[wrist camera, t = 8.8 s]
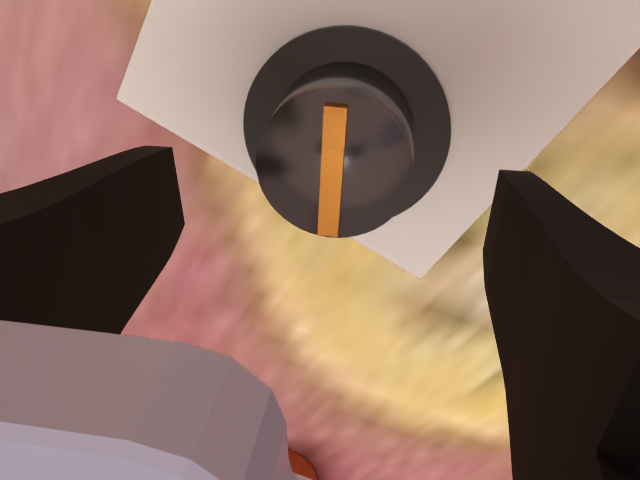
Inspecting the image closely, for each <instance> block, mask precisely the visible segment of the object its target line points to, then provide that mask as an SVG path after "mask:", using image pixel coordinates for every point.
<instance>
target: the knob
mask: <svg viewBox="0 0 640 480" xmlns="http://www.w3.org/2000/svg"><path fill="white" fill-rule="evenodd" d="M255 163H256V172H257V177H258V181H259V184H260V186H261V189H262V191H263V193H264V195H265V197H266V198H267V200H268V201H269V203H270V204H271V206H272V207H273V208H274V209H275V210H276V211H277V212H278V213H279V214H280V215H281V216H282V217H283V218H284V219H286V220H287V221H289V222H290V223H291V224H293V225H295V226H297V227H298V228H300V229H302V230H305V231H307V232H309V233H313V234H316V235H320V236H325V237H335V238H343V237H353V236H358V235H362V234H365V233H368V232H370V231H373V230H375V229H377V228H379V227H380V226H382V225H384V224H385V223H386V222H388V221H389V220H390V219H391V218H392V217H393V216H394V215H395V214H396V213H397V212H398V211H399V209H400V208H401V207H402V206H403V204H404V202H405V200H406V199H407V196H408V194H409V191H410V189H411V184H412V180H413V165H414V120H413V115H412V111H411V108H410V105H409V103H408V101H407V99H406V97H405V95H404V94H403V92H402V91H401V89H400V88H399V87H398V86H397V85H396V84H395V82H394V81H393V80H391V79H390V78H389V77H388V76H387V75H385V74H384V73H382V72H380V71H379V70H377V69H375V68H372V67H370V66H368V65H364V64H361V63H356V62H343V61H340V62H331V63H327V64H323V65H321V66H318V67H316V68H313V69H312V70H310V71H308V72H306V73H305V74H304V75H302V76H301V77H300V78H299V79H298V80H297V81H296V82H295V83H294V84H293V85H292V86H291V88H290V89H289V90H288V92H287V93H286V95H285V96H284V98H283V100H282V101H281V103H280V104H279V106H278V107H277V109H276V110H275V112H274V114H273V115H272V117H271V118H270V120H269V121H268V123H267V125H266V126H265V128H264V130H263V132H262V134H261V136H260V139H259V142H258V145H257V150H256V162H255Z"/></svg>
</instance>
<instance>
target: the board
mask: <svg viewBox="0 0 640 480" xmlns="http://www.w3.org/2000/svg"><path fill="white" fill-rule="evenodd" d="M639 48H640V0H152V1H151V4H150V7H149V10H148V12H147V15H146V18H145V21H144V23H143V26H142V29H141V32H140V34H139V37H138V40H137V43H136V46H135V48H134V51H133V54H132V57H131V59H130V62H129V65H128V68H127V71H126V73H125V76H124V79H123V82H122V84H121V87H120V90H119V93H118V95H117V98H116V99H117V100H119V101H121V102H122V103H124V104H126V105H127V106H129V107H131V108H133V109H134V110H136V111H138V112H139V113H141V114H143V115H144V116H146V117H148V118H149V119H151V120H153V121H154V122H156V123H158V124H160V125H161V126H163V127H165V128H166V129H168V130H170V131H171V132H173V133H175V134H176V135H178V136H180V137H181V138H183V139H185V140H186V141H188V142H190V143H192V144H193V145H195V146H197V147H198V148H200V149H202V150H203V151H205V152H207V153H208V154H210V155H212V156H213V157H215V158H217V159H219V160H220V161H222V162H224V163H225V164H227V165H229V166H230V167H232V168H234V169H235V170H237V171H239V172H240V173H242V174H244V175H245V176H247V177H249V178H251V179H252V180H254V181H256V182H257V183H259V181H258V177H257V172H256V163H255V162H256V150H257V145H258V142H259V139H260V136H261V134H262V132H263V130H264V128H265V126H266V125H267V123H268V121H269V120H270V118H271V117H272V115H273V114H274V112H275V110H276V109H277V107H278V106H279V104H280V103H281V101H282V100H283V98H284V96H285V95H286V93H287V92H288V90H289V89H290V88H291V86H292V85H293V84H294V83H295V82H296V81H297V80H298V79H299V78H300V77H301V76H302V75H304V74H305V73H306V72H308V71H310V70H312V69H313V68H316V67H318V66H321V65H323V64H327V63H331V62H340V61H343V62H356V63H361V64H364V65H368V66H370V67H372V68H375V69H377V70H379V71H380V72H382V73H384V74H385V75H387V76H388V77H389V78H390V79H391V80H393V81H394V82H395V84H396V85H397V86H398V87H399V88H400V89H401V91H402V92H403V94H404V95H405V97H406V99H407V101H408V103H409V105H410V108H411V111H412V115H413V120H414V165H413V180H412V184H411V189H410V191H409V194H408V196H407V199H406V200H405V202H404V204H403V206H402V207H401V208H400V209H399V211H398V212H397V213H396V214H395V215H394V216H393V217H392V218H391V219H390V220H389V221H388V222H386V223H385V224H384V225H382V226H380V227H379V228H377V229H375V230H373V231H370V232H368V233H365V234H362V235H358V236H353V237H350V238H352V239H353V240H355V241H357V242H358V243H360V244H362V245H364V246H365V247H367V248H369V249H370V250H372V251H374V252H375V253H377V254H379V255H380V256H382V257H384V258H385V259H387V260H389V261H391V262H392V263H394V264H396V265H397V266H399V267H401V268H402V269H404V270H406V271H407V272H409V273H411V274H412V275H414V276H416V277H417V278H419V279H421V278H422V277H423V276H424V274H425V273H426V272H427V271H428V270H429V269H430V268H431V267H432V266H433V265H434V264H435V263H436V262H437V261H438V260H439V259H440V258H441V257H442V255H443V254H444V253H445V252H446V251H447V250H448V249H449V248H450V247H451V246H452V245H453V244H454V243H455V242H456V241H457V240H458V239H459V238H460V237H461V235H462V234H463V233H464V232H465V231H466V230H467V229H468V228H469V227H470V226H471V225H472V224H473V223H474V222H475V221H476V220H477V219H478V218H479V217H480V215H481V214H482V213H483V212H484V211H485V210H486V209H487V208H488V207H489V206H490V205H491V204H492V203H493V198H494V193H495V188H496V183H497V178H498V173H499V169H500V170H515V171H523V170H524V169H525V168H526V167H527V166H528V165H529V164H530V163H531V162H532V161H533V160H534V159H535V158H536V156H537V155H538V154H539V153H540V152H541V151H542V150H543V149H544V148H545V147H546V146H547V145H548V144H549V143H550V142H551V141H552V140H553V139H554V138H555V136H556V135H557V134H558V133H559V132H560V131H561V130H562V129H563V128H564V127H565V126H566V125H567V124H568V123H569V122H570V121H571V120H572V119H573V118H574V116H575V115H576V114H577V113H578V112H579V111H580V110H581V109H582V108H583V107H584V106H585V105H586V104H587V103H588V102H589V101H590V100H591V99H592V97H593V96H594V95H595V94H596V93H597V92H598V91H599V90H600V89H601V88H602V87H603V86H604V85H605V84H606V83H607V82H608V81H609V80H610V79H611V77H612V76H613V75H614V74H615V73H616V72H617V71H618V70H619V69H620V68H621V67H622V66H623V65H624V64H625V63H626V62H627V61H628V60H629V59H630V57H631V56H632V55H633V54H634V53H635V52H636V51H637V50H638V49H639Z"/></svg>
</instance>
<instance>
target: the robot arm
mask: <svg viewBox="0 0 640 480" xmlns="http://www.w3.org/2000/svg"><path fill="white" fill-rule="evenodd" d="M184 225H185V222H184V216H183V210H182V204H181V198H180V192H179V186H178V180H177V174H176V168H175V162H174V156H173V150H172V147H160V146H142V147H137V148H133V149H130V150H127V151H124V152H120V153H118V154H115V155H112V156H109V157H106V158H104V159H101V160H98V161H96V162H93V163H90V164H88V165H85V166H82V167H80V168H77V169H74V170H72V171H69V172H66V173H63V174H60V175H57V176H54V177H51V178H48V179H45V180H43V181H40V182H37V183H34V184H31V185H28V186H25V187H22V188H18V189H15V190H11V191H8V192H4V193H1V194H0V480H312V479H310V478H307V477H304V476H301V475H299V474H296V473H293V472H292V469H291V465H290V461H289V457H288V440H287V423H286V421H285V419H284V417H283V414H282V412H281V410H280V407H279V405H278V403H277V401H276V398H275V396H274V394H273V392H272V389H271V388H270V387H269V386H268V385H267V384H265V383H264V382H263V381H262V380H260V379H259V378H258V377H257V376H255V375H254V374H253V373H251V372H250V371H249V370H248V369H246V368H245V367H244V366H243V365H241V364H240V363H239V362H237V361H236V360H235V359H234V358H232V357H231V356H228V355H225V354H221V353H218V352H215V351H212V350H209V349H205V348H202V347H199V346H196V345H192V344H189V343H186V342H178V341H170V340H162V339H153V338H145V337H136V336H128V335H120V334H121V332H122V330H123V329H124V327H125V326H126V324H127V323H128V321H129V320H130V318H131V317H132V315H133V313H134V312H135V310H136V309H137V307H138V306H139V304H140V303H141V301H142V300H143V298H144V297H145V295H146V294H147V292H148V291H149V289H150V288H151V286H152V285H153V283H154V282H155V280H156V279H157V277H158V276H159V274H160V273H161V271H162V270H163V268H164V267H165V265H166V263H167V262H168V260H169V259H170V257H171V255H172V253H173V250H174V248H175V246H176V244H177V242H178V239H179V237H180V235H181V232H182V230H183V227H184ZM483 265H484V282H485V291H486V296H487V301H488V306H489V310H490V315H491V320H492V325H493V329H494V334H495V339H496V343H497V348H498V353H499V357H500V362H501V367H502V372H503V378H504V384H505V390H506V401H507V412H508V423H509V435H510V449H511V462H512V476H513V480H640V248H639V247H637V246H635V245H633V244H632V243H630V242H628V241H627V240H625V239H623V238H622V237H620V236H619V235H617V234H616V233H614V232H612V231H611V230H609V229H608V228H606V227H605V226H603V225H602V224H600V223H599V222H597V221H596V220H595V219H593V218H592V217H590V216H589V215H588V214H586V213H585V212H583V211H582V210H581V209H579V208H578V207H577V206H575V205H574V204H573V203H572V202H570V201H569V200H568V199H566V198H565V197H564V196H562V195H561V194H560V193H559V192H557V191H556V190H555V189H554V188H552V187H551V186H550V185H548V184H547V183H546V182H545V181H543V180H542V179H541V178H539V177H538V176H536V175H535V174H533V173H532V172H530V171H515V170H500V169H499V173H498V178H497V183H496V188H495V193H494V198H493V203H492V208H491V213H490V217H489V222H488V227H487V232H486V237H485V242H484V247H483Z"/></svg>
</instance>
